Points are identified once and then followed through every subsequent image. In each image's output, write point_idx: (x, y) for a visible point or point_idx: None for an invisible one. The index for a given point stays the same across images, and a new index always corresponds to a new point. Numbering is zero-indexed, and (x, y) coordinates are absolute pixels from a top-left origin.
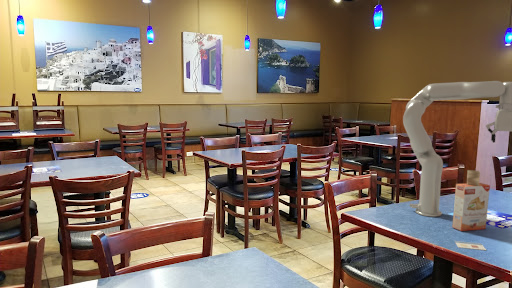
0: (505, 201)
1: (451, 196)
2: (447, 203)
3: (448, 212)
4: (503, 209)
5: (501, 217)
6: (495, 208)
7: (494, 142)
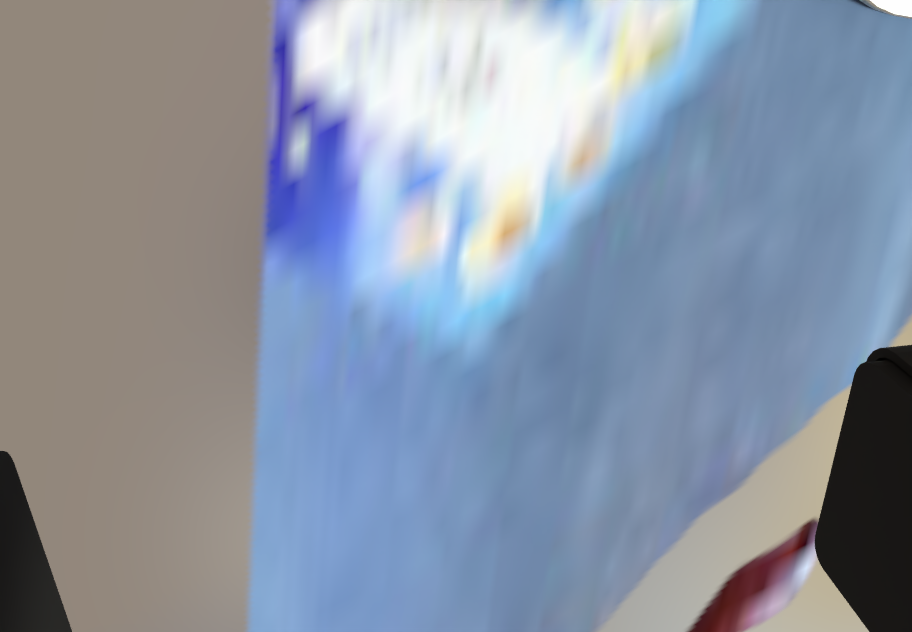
0: (262, 609)
1: (631, 552)
2: (698, 334)
3: (747, 29)
4: (288, 372)
5: (318, 91)
6: (346, 371)
7: (874, 353)
